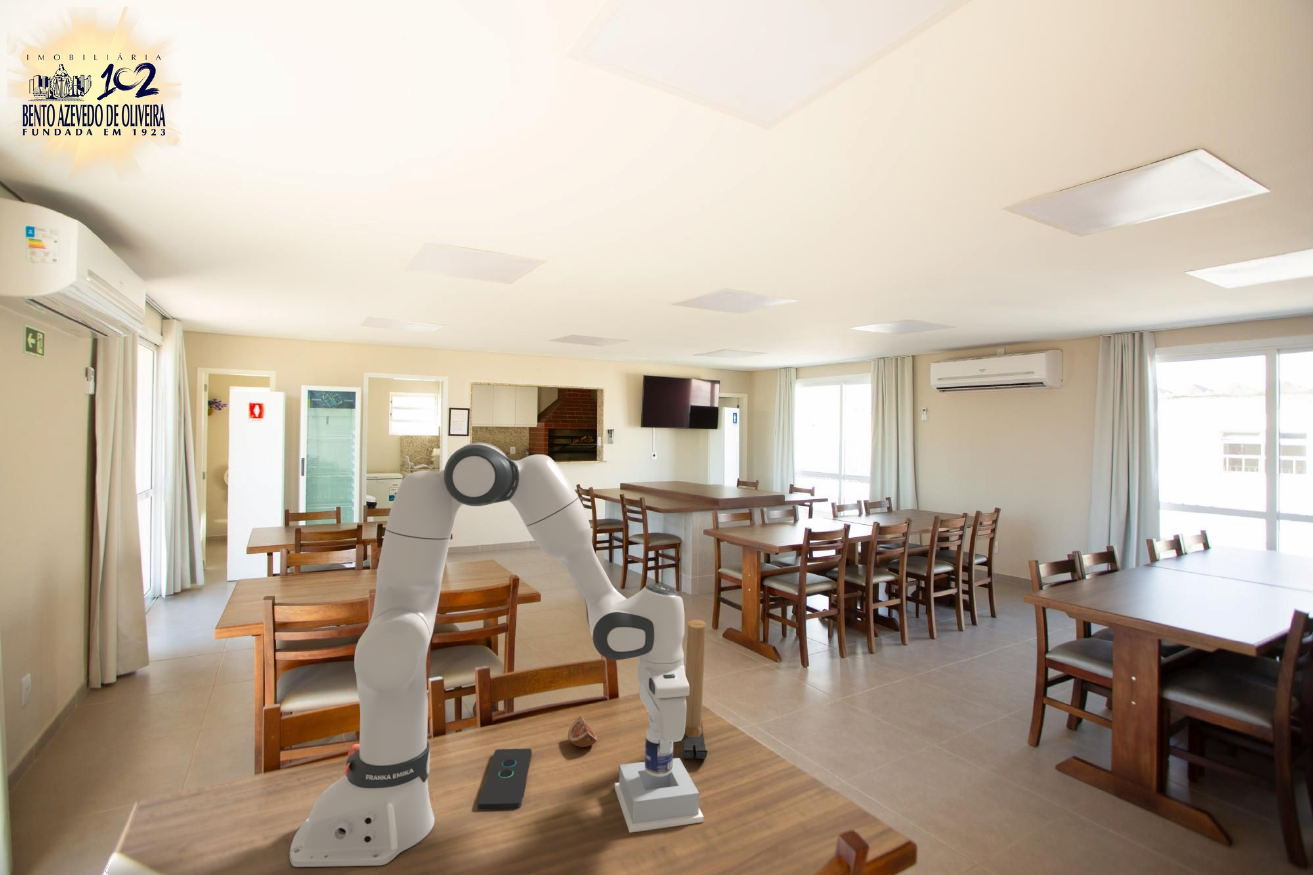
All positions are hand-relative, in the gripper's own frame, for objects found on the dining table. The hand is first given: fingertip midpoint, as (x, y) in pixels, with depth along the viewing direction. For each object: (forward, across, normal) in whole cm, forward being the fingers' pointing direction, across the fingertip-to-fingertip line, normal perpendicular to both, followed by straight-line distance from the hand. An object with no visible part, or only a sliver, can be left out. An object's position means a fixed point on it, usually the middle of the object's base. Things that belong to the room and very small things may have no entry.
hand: (659, 742), depth 116 cm
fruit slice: (+12, -25, -11) cm, 30 cm away
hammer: (+12, -21, +14) cm, 28 cm away
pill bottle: (+6, 0, 0) cm, 6 cm away
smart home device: (+13, -15, -28) cm, 34 cm away
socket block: (+12, 0, 0) cm, 12 cm away
